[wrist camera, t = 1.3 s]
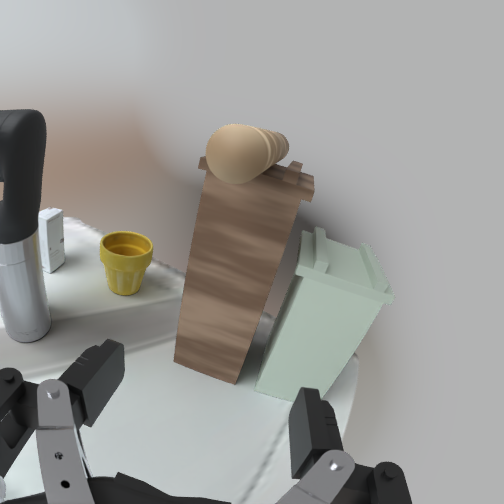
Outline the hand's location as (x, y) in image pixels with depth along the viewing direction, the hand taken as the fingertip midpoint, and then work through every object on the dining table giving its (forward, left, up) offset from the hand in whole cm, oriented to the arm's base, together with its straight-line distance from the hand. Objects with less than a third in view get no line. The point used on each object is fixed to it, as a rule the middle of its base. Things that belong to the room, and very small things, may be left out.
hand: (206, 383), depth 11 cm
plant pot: (-40, +9, -25) cm, 48 cm away
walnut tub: (-19, +18, -24) cm, 36 cm away
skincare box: (-51, -6, -25) cm, 57 cm away
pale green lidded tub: (-9, +26, -24) cm, 37 cm away
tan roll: (-17, +16, +6) cm, 24 cm away
